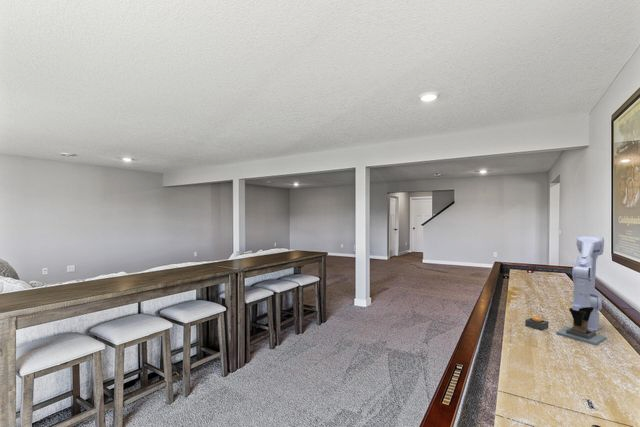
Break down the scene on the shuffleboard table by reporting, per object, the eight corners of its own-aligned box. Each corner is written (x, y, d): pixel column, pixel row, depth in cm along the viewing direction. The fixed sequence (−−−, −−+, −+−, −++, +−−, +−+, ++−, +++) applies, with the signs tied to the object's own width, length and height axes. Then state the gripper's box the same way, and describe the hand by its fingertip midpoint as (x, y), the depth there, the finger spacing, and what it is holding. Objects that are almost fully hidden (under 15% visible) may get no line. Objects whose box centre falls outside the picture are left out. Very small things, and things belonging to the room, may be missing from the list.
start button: (534, 319, 155) (534, 315, 155) (543, 322, 151) (543, 318, 151) (530, 321, 152) (530, 317, 152) (539, 323, 149) (539, 319, 149)
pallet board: (567, 328, 150) (567, 323, 150) (606, 339, 138) (606, 333, 138) (556, 334, 143) (556, 328, 143) (596, 345, 131) (596, 339, 131)
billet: (576, 331, 143) (576, 318, 143) (587, 334, 140) (587, 321, 140) (573, 333, 141) (573, 320, 141) (584, 336, 138) (584, 322, 138)
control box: (531, 323, 157) (532, 317, 157) (548, 327, 151) (548, 321, 151) (525, 326, 153) (525, 319, 153) (541, 330, 147) (542, 324, 147)
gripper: (576, 289, 148) (576, 318, 148) (564, 293, 140) (563, 324, 140) (596, 293, 142) (595, 323, 142) (584, 297, 134) (583, 329, 134)
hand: (581, 324), depth 141 cm, fingers open, 7 cm apart
